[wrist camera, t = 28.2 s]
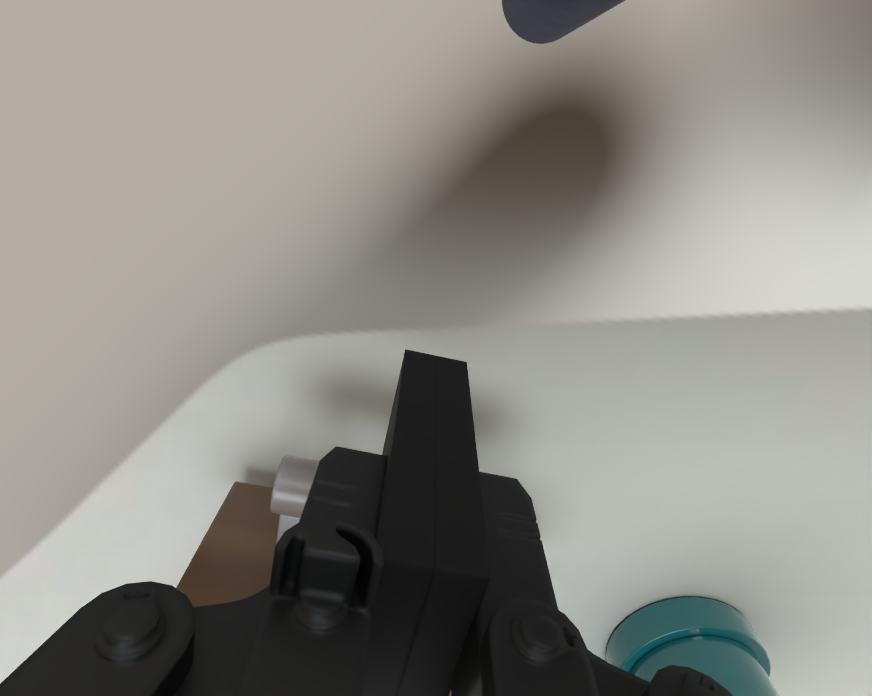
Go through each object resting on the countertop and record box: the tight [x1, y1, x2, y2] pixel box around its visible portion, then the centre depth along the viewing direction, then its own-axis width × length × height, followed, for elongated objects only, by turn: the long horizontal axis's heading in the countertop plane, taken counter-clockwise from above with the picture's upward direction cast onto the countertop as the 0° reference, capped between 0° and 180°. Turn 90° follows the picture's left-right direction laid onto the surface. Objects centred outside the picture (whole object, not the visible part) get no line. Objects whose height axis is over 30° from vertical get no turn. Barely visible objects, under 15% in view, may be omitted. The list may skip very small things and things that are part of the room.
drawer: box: [176, 455, 451, 696], centre depth 19 cm, size 20×11×6 cm, turn 167°
